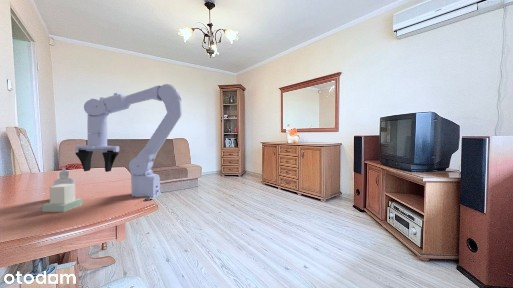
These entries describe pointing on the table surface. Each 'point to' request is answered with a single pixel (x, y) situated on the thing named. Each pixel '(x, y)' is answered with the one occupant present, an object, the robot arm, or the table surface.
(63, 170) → the eye dropper bottle
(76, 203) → the sage slab
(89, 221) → the table surface
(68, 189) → the cream block
